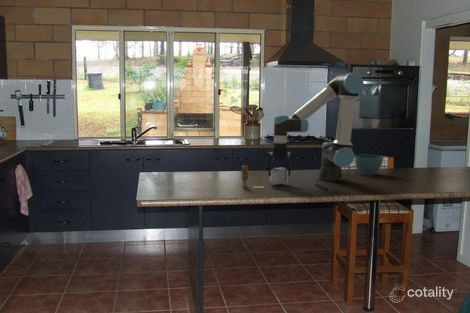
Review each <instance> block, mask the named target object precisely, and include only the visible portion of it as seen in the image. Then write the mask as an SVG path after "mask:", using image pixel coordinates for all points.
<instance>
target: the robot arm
mask: <svg viewBox="0 0 470 313" xmlns="http://www.w3.org/2000/svg"><path fill="white" fill-rule="evenodd" d="M363 88H364V79H363V77H362V76H361V75H360V74H358V73H355V72H343V73H340V74H338V75H337V76H335V77H334V78H332V79H331V80H330V81H328V83H326V84H325V87H324V88H323V89H322V90H320V92H318V93H317V94H315V95H314V96H313V97H312V98H310V100H309V101H307V102H306V103H305V104H303V105H302V106H301V107H300V108H299V109H298V110H296V111H295V112H294V113H293V114H291V115H290V116H288V115H283V114H277V115H275V116H274V122H273V123H274V125H273V150H272V151H268V152H267V160H266V164H265V170H267V171H268V176H269V181H270V183H272V169H273V167H274V164H275V162H276V161H277V160H279V159H281V160H283V161H284V164H285V166H286V169H287V177H286V183H289V177H291V171H293V170H294V168H295V167H294V163H293V153H292V152H289V151H288V150H287V149H288V148H287V147H288V143H287V142H288V133H306V132H308V131H309V122H308V119H309V118H310V117H311V116H312V115H314V114H315V113H316V112H318V110H320V109H321V108H322V107H323V106H324V105H326V104H327V103H329V101H331V100H332V99H333V98H337V97H338V98H340V100H339V106H338V107H339V109H338V117H337V125H336V131H335V132H336V134H335V139H334V140H333V141H331V142H327V141H326V142H323V143H322V147H321V167H320V170H319V172H318V174H317V175H318V176H317V179H318V180H319V181H323V182H343V180H344V174H343V171H342V168H345V167H348V166H350V165H351V164H352V163H353V162H354V161H355V157H354V156H355V152H354V151H353V142H351V139H352V130H353V124H354V123H353V122H354V116H355V109H356V107H355V106H356V100H357V99H359V97H360V92H361V91H362V90H363ZM272 156H274V157H273V159H272V161H271V158H272ZM286 156H288V159H289V163H288V161H287V159H286ZM270 161H271V163H270ZM269 164H270V165H269ZM289 164H290V165H289Z"/></svg>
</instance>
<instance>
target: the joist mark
mask: <svg viewBox="0 0 470 313" xmlns="http://www.w3.org/2000/svg"><path fill="white" fill-rule="evenodd" d="M253 189H266V188H265V186H258V185H257V186H255V185H254V186H253Z"/></svg>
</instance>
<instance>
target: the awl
mask: <svg viewBox="0 0 470 313" xmlns="http://www.w3.org/2000/svg"><path fill="white" fill-rule="evenodd" d="M241 179H242V189H247V188H248V179H249V166H248V165H241Z"/></svg>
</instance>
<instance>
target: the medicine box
mask: <svg viewBox="0 0 470 313" xmlns="http://www.w3.org/2000/svg"><path fill="white" fill-rule="evenodd" d="M271 170H272V182H271V184H273V185H281V184H287V182H286V177H287V170H288V168H287V167H274V168H273V167H272V169H271Z"/></svg>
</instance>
